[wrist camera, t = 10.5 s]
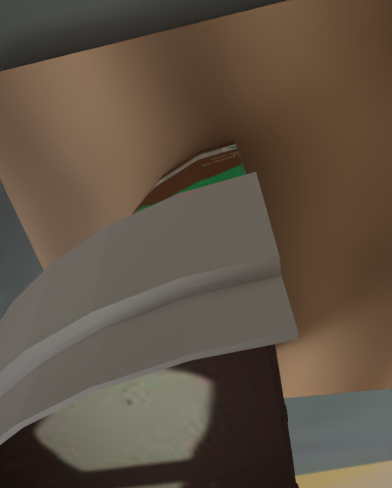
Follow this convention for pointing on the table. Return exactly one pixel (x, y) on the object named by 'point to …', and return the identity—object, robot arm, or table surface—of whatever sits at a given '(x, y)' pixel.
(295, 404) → the table surface
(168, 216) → the food container
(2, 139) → the walnut block
